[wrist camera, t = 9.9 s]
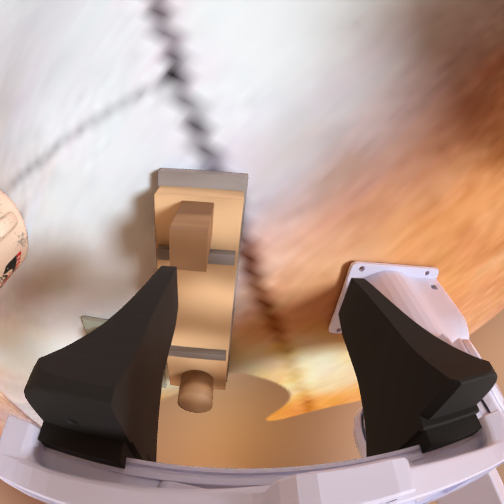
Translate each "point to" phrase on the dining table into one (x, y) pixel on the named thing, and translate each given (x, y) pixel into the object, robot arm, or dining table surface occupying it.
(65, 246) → the dining table surface
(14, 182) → the dining table surface
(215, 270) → the plane body
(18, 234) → the teacup with lid
